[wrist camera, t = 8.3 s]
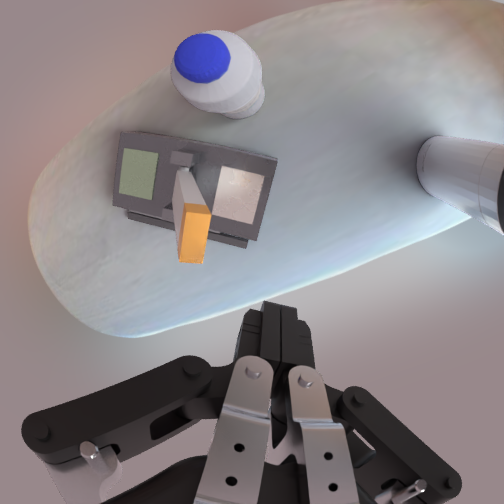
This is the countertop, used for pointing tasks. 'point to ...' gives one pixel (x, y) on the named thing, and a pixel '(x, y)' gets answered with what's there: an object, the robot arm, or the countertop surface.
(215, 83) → the bottle
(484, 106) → the countertop surface
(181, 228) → the lever
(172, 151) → the switch box
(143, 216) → the dark grey bar
